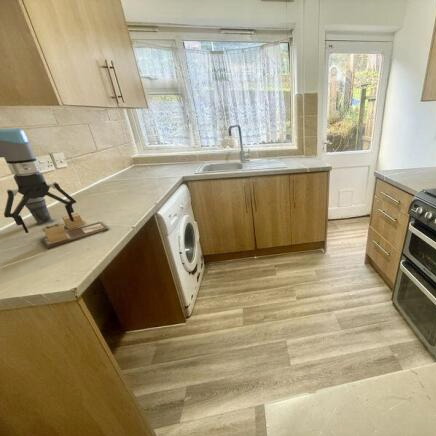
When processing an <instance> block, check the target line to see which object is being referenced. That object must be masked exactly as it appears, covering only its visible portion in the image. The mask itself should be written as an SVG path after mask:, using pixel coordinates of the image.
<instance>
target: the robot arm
mask: <svg viewBox="0 0 436 436" xmlns="http://www.w3.org/2000/svg"><path fill="white" fill-rule="evenodd" d="M0 158H4V160H5V162H6V165H7V167H8V169H9V171H10V173H11V174H12V175H13V179H14V181H15V184H16V186H17V189H9V188H8V189H6V193H7V199H6V203H5V207H4V211H3V216H4V218H6V219H7V218H13V220H14V222H15V225H17V226H22V228H23V230H24V232H25V234H29V233H30V232H29V230H28V228H27V225H26V223H25V221H24V220H23V218H22V216H21V214H20V213H21V212H22V211H23V209H24V207H26V206H25V204H26V202H27V201H28V200H29V198H30V199H36V198H42V197H43V198H44V197H49V198H51V199H54V200H56V201H58V202H60V203H62V204H63V205H64V208H65V211H66V213H67V215H69V218H70V220H71V221H74V219H73V217H72V213H75V210H74V207H73V204H76V203H77V200H76V199H74V198H73V197H72V196H71V195H69V194H68V193H67V192H65V190H63V189H62V188H61V186H60V185H59V183H57V182H56V181H54V182H52V183H49V184H48V183H47V181H46V179H45V176H44V175H43V174H44V173H42V172H41V171H42V170H41V167H40V165H39V163H38V160H37V158H36V155H35V154H34V151H33V148H32V145H31V143H30V140H29V138H28V136H27V134H26V133H25V131H24V130H23V129H21V128H16V127H15V128H14V127H13V128H0ZM51 188H52V189H53V190H57V191H58V192H59V193H60V194H62V195H63V196H64V197H65V198H66V199H67V200H69V201H67V200H66V199H64V198H62V197H60V196H57V195H55V194H54V193H52V192H50V191H49V190H50V189H51ZM17 194H20V195H22V197H21V200H20V201H19V202H18V203H17V205H16V207H15V208H14V209H13V212H12V208H13V203H14V200H15V197H16V196H17Z"/></svg>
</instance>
